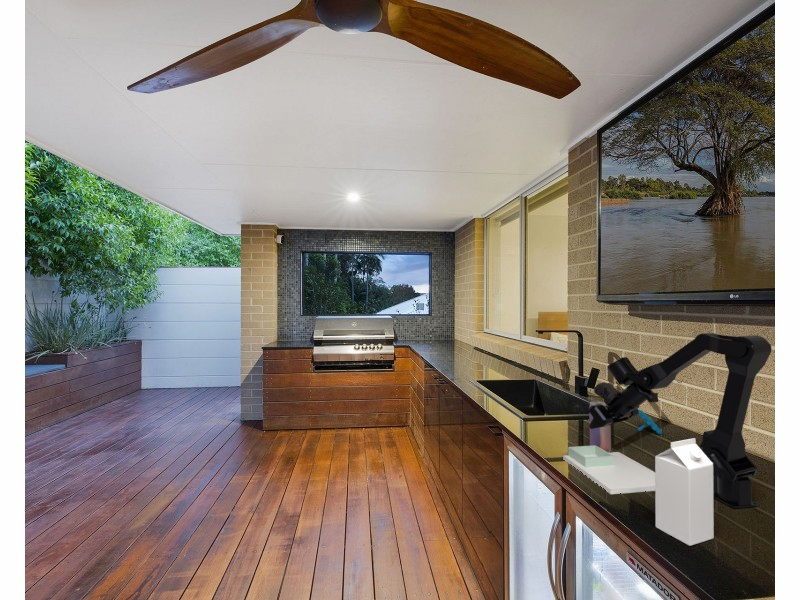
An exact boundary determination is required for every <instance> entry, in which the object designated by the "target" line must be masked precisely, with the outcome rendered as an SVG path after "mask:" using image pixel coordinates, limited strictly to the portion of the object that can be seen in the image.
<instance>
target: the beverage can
mask: <svg viewBox="0 0 800 600" xmlns="http://www.w3.org/2000/svg"><path fill="white" fill-rule="evenodd" d="M596 404H601V405H603V406H604V407H605V408H606V407H608V405H606V404H605V401H597V400H595V401H594V400H593V401H590V402H589V407H588V409H589V408H590V407H591V406H593V405H596ZM606 409H607V408H606ZM588 412H589V411H588ZM588 416H589V424H590V423H591V421H592V420H593V416H592V415H591V414H590V412H589V415H588ZM611 425H612V424H611ZM611 425H609V426H605V427H599V428H594V429H591V428H590V427H589V446H593V445H596V446H598V447H599V448H601V449H603V450H604V451H606V452H608V453H611V452H612V437H611V436H612V430H611V429H612V428H611Z"/></svg>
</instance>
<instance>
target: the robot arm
mask: <svg viewBox="0 0 800 600" xmlns="http://www.w3.org/2000/svg"><path fill="white" fill-rule="evenodd" d="M711 352H713V353H716V354H719V355H724V360H725V361H724V362H725V365H726V367H727V369H728V374H727V379H726V383H725V387H724V391H723V396H722V401H721V405H720V409H719V414H718V418H717V422H716V426H715V428H714V429H711V430H706V431H705V430H704V431H703V434H702V442H701V444H699V448H702V449H701V450H702V451H703V453H704V454H705V455H706V456H707V457H708V458H709V459H710V461H711V462H712V463H713V499H716V500H717V501H719V502H721V503H723V504H725V505H726V506H728V507H730V508H733V509H741V508H743V509H744V508H751V507H753V508H754V507H755V508H756V507H758V503H756V502H754V501H752V479H750V478H749V477H751V476H753V477H754V476H756V474H757V472H758V467H757V466H756V465H755V463H754V462H753V461H752V460H751V459H750V457H748V456H747V454H746V442H745V439H744V437H743V433H742V432H743V429H744V424H745V419H746V416H747V411H748V408H749V403H750V398H751V395H752V391H753V387H754V382H755V380H756V379H755V378H756V376H757V375H758V374H759V372H760V371H761V370H762V369H763V368H764V366H765V365H766V364H767V361H768V359H769V357H770V356H771V353H772V346H771V344H770V343H769V342H768V340H767V339H766V338H765V337H763V336H760V335H754V334H753V335H752V334H751V335H740V336H739V335H738V336H737V335H736V336H734V335H724V334H717V333H715V332H714V333H713V332H708V333H700V334H699V333H698V334H697V335H696V336H695V338H693V339H692V340H691V341H690V342H689V341H688V343H687V344H685V345H684V346H682V347H681V348H680V349H678V350H677V351H676V352H674V353H672V354H671V355H669V356H668V357H667V358H665V359H664V360H663V361H659V362H658V363H655V364H652V365H650V366H646V367H644V368H642V369H640V370H637V368H636V367H635V366H634V365H633V363H632V362H631V361H630V359H629V357H628V356H624V357H621V358H620V359H618V360H615V361H613V362H612V363H610V364H609V365H608V366H607V370H608V371H609V373H610V374H611V376H612V377H614V379H615V380H616V381H615V382H617V383H618V385H620V386H621V385H622V386H624V387H625V388H624V389H623V390H621V391H619V390H618V389H617V388H616V387H614V386H612V385H611V384H609V383H608V382H605V381H604V382H600V383H598V384H596V385H595V386H594V387H593V393H594V394H595V395H597V396H598V397H600V398H602V399H603V400H604V402H605V404H606V405H608V407H606V408H607V409H606V408H605V407H604V406H603V405H601V404H596V405H593V406H591V407H590V408H589V407H588V409H587V411H588V412H590V414H591V415H592V416H593V420H592V421H591V423H590V422H589V425H588V426H589V429H590V428H591V429H594V428H599V427H605V426H609V425H613V424H615V423H616V424H617V423H621V422H624V421H628V420H629V419H633V418H636V417H637V416H638V415H639V410H640V407H641V405H642V404H643V403H644V402H647V401H648V402H649V403H650V404H651V403H659V397H658V395H659V393H658V392H654V391H653V390H659V389H665V388H668V386H669V385H671V384H672V383H673V382H674V380H676V377H677V375H678V374H680V372H682V371H683V370H685V369H687V368H688V367H689V366H691V365H692V364H694V363H695V362H697V361H699V360H700V359H702V358H703V357H704V356H706V355H708V354H709V353H711Z"/></svg>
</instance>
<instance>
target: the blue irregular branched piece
mask: <svg viewBox="0 0 800 600" xmlns="http://www.w3.org/2000/svg"><path fill="white" fill-rule="evenodd" d="M638 410H639V414H638V415H639V416H640V417H641V419H642V420H643V421H644V422H643V424H642V425H641V426H639V427H637V431H639V432H641V431H642V430H644V429H645V428H646V427H647V428H648V427H649V426H650V427H651V429H652V430H653V431H655V432H656V434H658V435H662V434H663V432H662V429H661V428H660V427H659V425H657V424H656V423H655V422H654V420H653V419H652V418H651V417H649V415H647V414H646V413H645V412H644V411H643V410H641V409H638Z"/></svg>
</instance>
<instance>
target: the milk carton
mask: <svg viewBox="0 0 800 600" xmlns="http://www.w3.org/2000/svg"><path fill="white" fill-rule="evenodd" d="M696 442H697V441H696V438H695V437H694V438H688V439H682V440H678V441H677V440H676V441H672V442H670V448H668V449H666V450H664V451H663V452H660V453H659V454H656V455H655V456H654V458H655V460H654V464H655V465H654V466H655V470H654V472H655V491H654V492H655V496H654V497H655V498H654V499H655V528H657V529H659V530H660V531H662V532H664V533H665V534H667V535H669V536H672V537H673V538H675V539H676V540H678V541H680V542H682V543H684V544H685V545H687V546H689V547H690V546H693V545H697V544H700V543H703V542H706V541H709V540H713V539H714V538H715V537H714V536H715V535H714V532H715V531H714V529H715V528H714V527H715V526H714V521H715V519H714V518H715V517H714V516H715V515H714V498H713V493H714V475H713V463H712V462H711V461H710V459H709V458H708V457H707V456H706V455H705V454H704V453H703V451H702V449H701V447H700V446H699V445H698V444H697V443H696Z"/></svg>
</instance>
